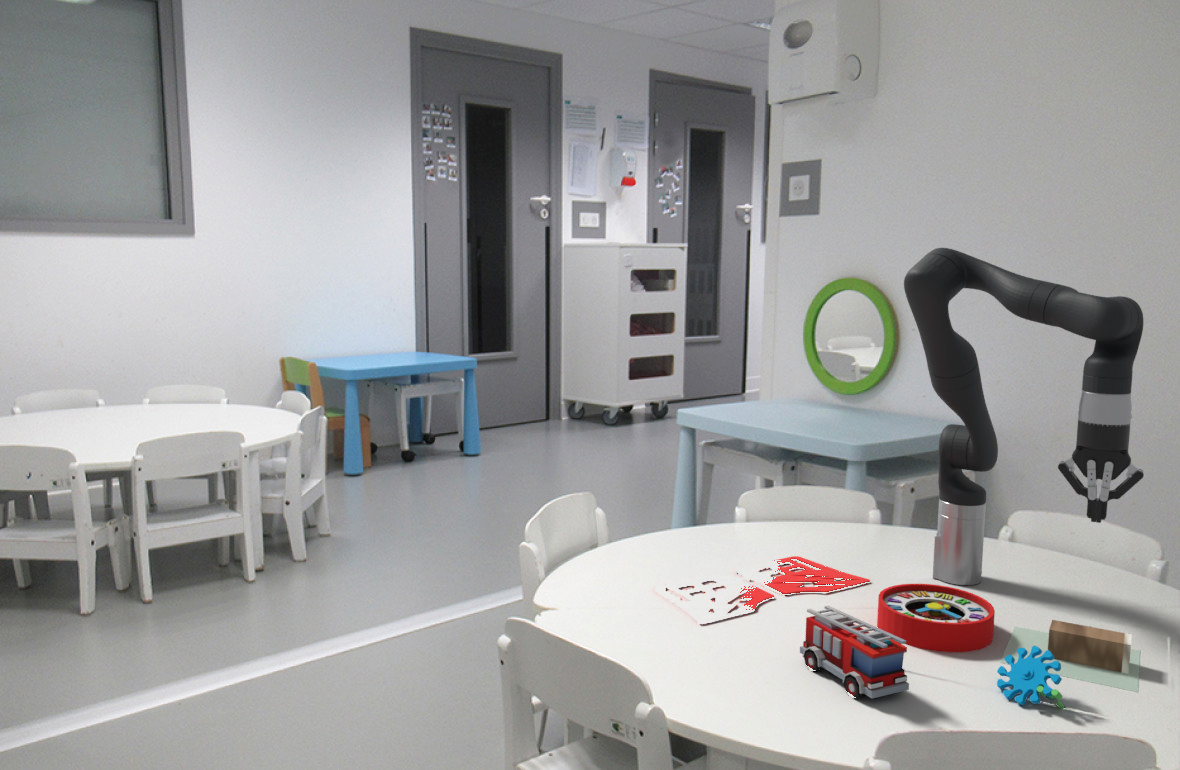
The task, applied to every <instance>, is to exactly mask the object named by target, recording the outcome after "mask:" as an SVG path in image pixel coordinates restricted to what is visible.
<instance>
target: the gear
mask: <svg viewBox="0 0 1180 770" xmlns="http://www.w3.org/2000/svg"><path fill="white" fill-rule="evenodd" d="M1017 652H1018V655H1019V658H1018V661H1017V663H1015V664H1014V662H1015V659H1014V657H1013V656H1012V655H1008V656H1006V657H1005V658H1004V659H1005V661H1006V662H1007V663H1008V664H1010V665H1009V666H1010V670H1009V671H1008V670H1007V668H1006V667H1004V665H1000V666H999V667H998V669H997V670H996V672H997V673H998V675H1000V676H1001V677H1008V678H1009V680H1008V681H1006V680H1004V679H1003V678H999V679H997V681H996V685H997V687H998V688H999V689H1000V690H1003V692H1002V695H1003V696H1004V697H1005V698H1006V699H1007V700H1008V701H1010V700H1012V699H1013V698H1014V701H1015V702H1016V703H1017V704H1019V706H1020V705H1021V706H1022V707H1023V706H1024V705H1026V701H1027V698H1028V697H1029V701H1030V702H1031V704H1033V705H1039V704H1041V697H1040V696H1042V697H1044V698H1045V699H1046V700H1048V702H1050V703H1052V704H1055V705H1056V706H1057V707H1058V708H1059V709H1061V710H1062V709H1064V708H1065V705H1064V703H1062V701H1061V700H1062V699H1063V695H1062V693H1061V692H1060V691H1059V690H1058V689H1057V688H1052V687H1050V686H1049V685H1048V679H1050V680H1051V682H1053V683H1054V684H1055V685H1056V686H1058V685H1060V683H1061V681H1063V678H1062V676H1059V675H1058V674H1050V673H1048V670H1049V669H1050V668H1052V669H1054V670H1055V671H1060V670H1061V664H1060V663H1059V662H1058V661H1053V662H1051V663H1043V662H1044V661H1045V660H1053V659H1054V656H1053V654H1052V653H1051V652H1050V651H1049V650H1047V651H1045V653H1044V654H1043V655H1042V656H1040V657H1038V658H1035V656H1037V655H1040V654H1041V653H1042V650H1041V649H1040V648H1039V647H1037V646H1033V647H1032V649H1031V653H1030V654H1029V656H1028V657H1027V658H1025V659H1024V657H1025V656H1026V655H1027V653H1028V652H1027V650H1026V649H1025V648H1018V649H1017ZM1008 664H1007V665H1008ZM1006 688H1013V689H1006ZM1019 693H1020V694H1019ZM1018 694H1019V695H1018ZM1030 694H1031V695H1030ZM1029 695H1030V696H1029Z"/></svg>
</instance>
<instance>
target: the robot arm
mask: <svg viewBox="0 0 1180 770" xmlns="http://www.w3.org/2000/svg"><path fill="white" fill-rule="evenodd" d="M903 289H904V293H905V297H906V300H907V302H908V305H909V307H910V311H911V313H912V315H913V318H914V321H915V324H916V327H917V329H918V333H919V336H920V340H921V344H922V347H923V350H924V355H925V359H926V360H925V361H926V364H927V370H928V374H929V378H930V382H931V385H932V388H933V391H934V392H935V393H936V395H937V396H938V397H939V398H940V399H941V401H942V402H943V403H944V404H945V405H946V406H947V407H948V408H949V409H950V410H951V411H953V412H954V414H956V415H957V416H958V418H960V420H961V422H963V424H964V425H963V424H954V423H953V424H951V423H950V424H947V425H946V426H944V428H943V429H942V431H941V433H940V435H939V441H938V477H937V478H938V481H937V482H938V485H937V486H938V491H939V495H938V513H937V514H938V515H937V532H936V533H935V534H934V544H933V545H934V547H933V565H932V567H933V568H932V578H933V579H936V580H940V581H941V582H945V583H946V584H952V585H958V586H973V585H978V584H980V583H981V581H982V573H983V570H982V569H983V555H984V540H985V523H986V505H987V491H986V489H985V488H984V487H983V486H981V485H980V484H978V483H976V482H975V481H973V480H971V479H970V478H969V477H968V476H966V475H965V473H964V472H963V470H964V471H970V472H971V471H972V472H980V473H981V472H982V473H984V472H989V471H991V470H992V469H994V467H996V466H995V465H996V464H997V461H998V455H999V445H998V438H997V434H996V432H995V428H994V425H993V422H992V419H991V416H990V414H989V410H988V407H987V403H986V398H985V394H984V390H983V384H982V379H981V370H980V367H979V362H978V357H977V352H976V351H975V349H974V346H973V345H972V344H971V343H970V342H969V341H968V340H967V339H965V338H964V337H963V336H962V335H961V334H959V333H958V332H956V331H955V330H954V328H953V326H952V322H951V317H950V314H949V313H950V312H949V305H950V302H951V300H953V299H954V297H956V296H957V295H958V294H959V293H960V292H961V291H962V290H963V289H968V290H969V289H970V290H977V291H981V292H982V291H983V292H984V293H988V294H989V295H991V296H992V297H993V298H994V299H995V300H997V302H998V303H1000V304H1001V305H1002V306H1003V307H1004V308H1005V309H1006V310H1007V311H1009V312H1010V313H1011V314H1013V315H1015V316H1016V317H1019V318H1020V319H1021V318H1022V319H1024V320H1026V321H1030V322H1031V321H1032V322H1034V323H1039V324H1043V325H1046V326H1051V327H1056V328H1060V329H1062V330H1065V331H1066V332H1069V333H1072V334H1074V335H1077V336H1080V337H1083V338H1086V339H1089V340H1093V341H1095V343H1094V347H1093V351H1092V354H1091V355H1090V356H1088V357H1087V358H1086V360H1085V361H1084V364H1083V371H1082V383H1081V394H1080V399H1079V403H1078V405H1079V406H1078V412H1077V413H1078V416H1077V430H1076V442H1075V443H1076V444H1075V449H1074V451H1072V454H1071V457H1070V458H1068V459H1066V460H1062V461H1060V462H1059V464H1058V465H1057V469H1058V470H1059V472H1060V473H1061V474H1062V476H1063V477H1064V478H1065V480H1066V481H1067V482H1068V483H1069V485H1070V486H1071V488H1072V490H1074V492H1075V493H1076V494H1077V495H1078V496H1082V497H1085V498H1086V499H1087V505H1086V507H1087V509H1086V517H1087V519H1090V522H1091V523H1096V524H1097V523H1098V524H1101V523H1102V520H1104V521H1105V519H1106V518H1107V512H1108V502H1110V500H1119V499H1121V498H1122V497H1123V496H1124V495H1125V494H1126V493H1128V491H1130V490H1131V489H1132V488H1133V487H1135V485H1137V484H1138V483H1139V482H1140V481H1141V480H1142V479H1143V478H1144V475H1145V472H1144V470H1143V469H1141V468H1138V467H1137V466H1136V465H1135V464H1133V463H1132V458H1131V456H1130V454H1129V447H1130V445H1129V444H1130V434H1131V433H1130V432H1131V422H1132V421H1131V420H1132V415H1133V414H1132V410H1133V409H1132V407H1133V406H1132V405H1133V404H1132V385H1133V383H1132V382H1133V367H1134V362H1135V360H1136V357H1137V354H1138V352H1139V351H1138V350H1139V346H1140V343H1141V339H1142V336H1143V333H1144V332H1143V330H1144V314H1143V310H1142V308H1141V306H1140V304H1139V303H1138V302H1136V300H1134V299H1133V298H1130V297H1128V296H1118V295H1117V296H1108V297H1107V296H1101V295H1100V296H1099V295H1095V294H1090V293H1089V294H1088V293H1085V292H1079V291H1078V289H1075V288H1073V287H1070V286H1067V285H1063V284H1059V283H1054V282H1051V281H1046V280H1042V279H1036V278H1032V277H1029V276H1028V277H1027V276H1026V275H1025V276H1024V275H1021V274H1019V273H1015V272H1013V271H1009V270H1008V269H1005V268H1002V267H999V266H997V265H995V264H992V263H990V262H988V261H985V260H983V259H979V258H977V257H975V256H973V255H969V254H967V253H964V252H963V251H962V252H961V251H958V250H957V249H953V248H950V247H949V248H948V247H937V248H934V249H932V250H931V251H929V252H928V253H927V254H925V255H924V256H923V257H922V258H921V259H920V260H919V261H918V262H916V263H915V264H914V265H913V266H912V267H911V268H910V269H909V270H908V271H907V273H906V275H905V276H904V279H903ZM1075 465H1076V466H1077V468H1078V469H1079V471H1080V472H1081V473H1082V475H1083V476H1084V477H1085V478H1087V486H1085V485H1084V484H1083V483H1082V481H1081V480H1080V479H1079V477H1078V476H1077V474H1076V473H1075V472H1074V471H1075V469H1076V468H1075V467H1076V466H1075ZM1125 470H1127V471H1126V472H1125V476H1126V478H1125V479H1124V480H1123V481H1122V482H1121V483H1120V484H1119V485H1117V486H1116V487H1115V488H1114V489H1111V490H1110V488H1111V482H1112V481H1114V480H1116V479H1118V477H1119V476H1120V475H1121V474H1122V473H1124V471H1125ZM1098 480H1101V486H1100V493H1099V496H1098ZM1097 496H1098V497H1097Z"/></svg>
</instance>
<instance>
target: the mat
mask: <svg viewBox="0 0 1180 770" xmlns="http://www.w3.org/2000/svg"><path fill="white" fill-rule="evenodd" d="M1010 634H1011V635H1010V637H1009V639H1008V642H1007V645H1006V646H1005V649H1004V652H1003V655H1002V658H1001V659H1000V662H999V663H1000V664H1003V665H1009V666H1010V664H1008V663H1007V662H1006V661H1005V659H1004V658H1005V657H1006V656H1008V655H1012V656H1013V657H1014V659H1015V662H1014V664H1015V663H1017V661H1018V658H1019V655H1018V652H1017V649H1018V648H1025V649H1026V650H1027V652H1028V653H1027V655H1026V656H1025V657H1024V659H1025V658H1027V657H1028V656H1029V654H1030V653H1031V649H1032V647H1033V646H1037V647H1039V648H1040V649H1041V650H1042V653H1041V654H1040V655H1037V656H1035V658H1038V657H1040V656H1042V655H1043V654H1044V653H1045V651H1047V650H1048V640H1049V632H1045V631H1040V630H1036V629H1030V628H1025V627H1019V626H1014V627H1013V629H1012V632H1011V633H1010ZM1140 660H1141V650H1138V649H1133V648H1131V651H1130V662H1129V674H1126V673H1121V672H1116V671H1111V670H1106V669H1101V668H1097V667H1092V666H1087V665H1082V664H1077V663H1072V662H1068V661H1063V660H1058V659H1053V660H1045V661H1044V662H1043V663H1051V662H1053V661H1058V662H1059V663H1060V664H1061V670H1060V671H1055V670H1054V669H1052V668H1050V669H1049V670H1048V673H1050V674H1058V675H1059V676H1060V677H1065V678H1069V679H1074V680H1079V681H1083V682H1088V683H1092V684H1096V685H1101V686H1107V687H1111V688H1116V689H1121V690H1126V691H1130V692H1135V693H1139V682H1140V681H1139V679H1140V662H1141V661H1140Z"/></svg>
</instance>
